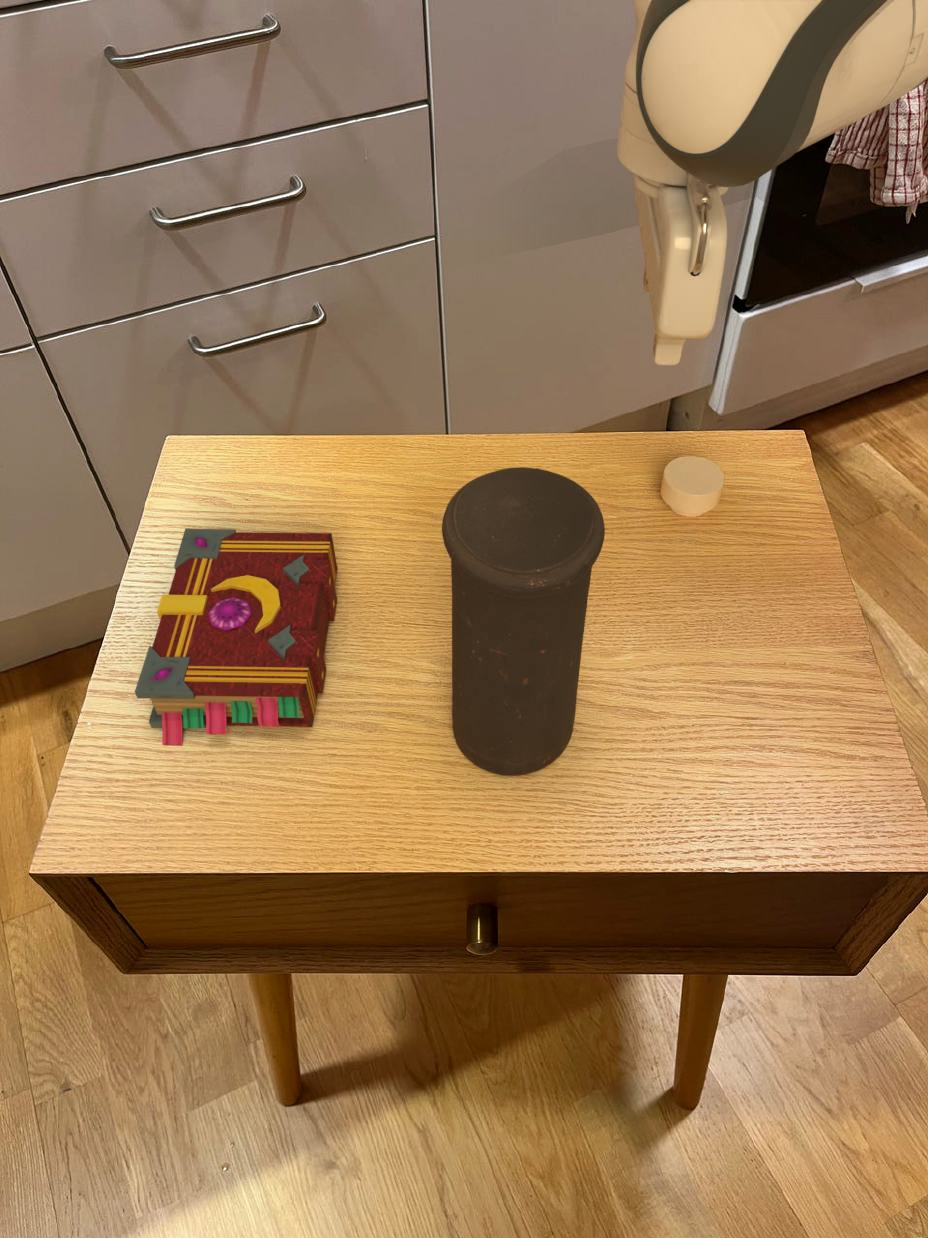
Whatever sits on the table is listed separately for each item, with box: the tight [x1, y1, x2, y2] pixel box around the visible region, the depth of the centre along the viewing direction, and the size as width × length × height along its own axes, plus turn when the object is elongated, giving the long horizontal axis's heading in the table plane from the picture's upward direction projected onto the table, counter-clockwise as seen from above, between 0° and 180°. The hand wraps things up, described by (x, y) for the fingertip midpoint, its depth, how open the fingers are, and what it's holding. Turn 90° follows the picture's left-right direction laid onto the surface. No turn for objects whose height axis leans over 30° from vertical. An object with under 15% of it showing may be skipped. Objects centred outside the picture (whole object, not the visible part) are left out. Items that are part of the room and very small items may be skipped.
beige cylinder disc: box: [659, 455, 726, 518], centre depth 78 cm, size 5×5×3 cm
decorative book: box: [134, 527, 338, 746], centre depth 68 cm, size 11×16×5 cm
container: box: [441, 466, 606, 777], centre depth 57 cm, size 9×9×20 cm
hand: (659, 321), depth 71 cm, fingers open, 8 cm apart
